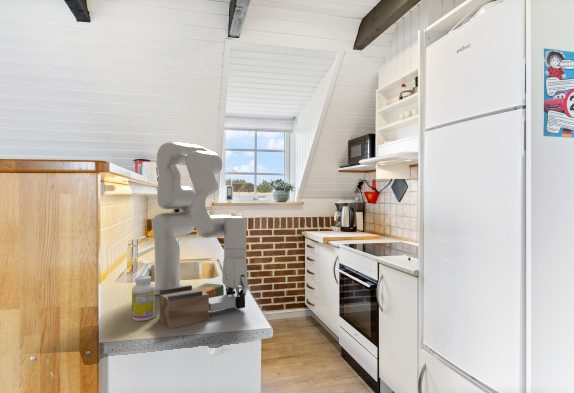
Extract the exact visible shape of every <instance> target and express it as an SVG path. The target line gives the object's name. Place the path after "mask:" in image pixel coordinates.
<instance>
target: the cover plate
mask: <svg viewBox="0 0 574 393" xmlns="http://www.w3.org/2000/svg"><path fill="white" fill-rule="evenodd" d="M236 297H237V294H236V292H235V294H229V295H226V294H223V295H221V296H218V297H212V298H209V312H210V313H212V312H217V311H222V310H226V309H231V308H236Z"/></svg>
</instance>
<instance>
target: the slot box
mask: <svg viewBox="0 0 574 393" xmlns="http://www.w3.org/2000/svg"><path fill="white" fill-rule="evenodd" d="M159 294H160V295H159V320H160V321H161V322H162V323H163V324H164V325H165V326H166V327H167V328H168V329H169V330H171V329H174V328H175V329H177V328H179V327H185V326H189V324H190V325H194V324H198V322H199V323H202V322H207V321H210V320H209V319H210V318H209V317H210V316H209V314H210V313H209V312H210V311H209V294H207V293H205V292H203V291H202V290H200V289H198V288H196V287H193V285H192V284H189V285H188V284H187V285H181V287H174V288H168V289H161V290H160V293H159ZM184 325H185V326H184Z"/></svg>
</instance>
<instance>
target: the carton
mask: <svg viewBox="0 0 574 393" xmlns="http://www.w3.org/2000/svg"><path fill="white" fill-rule="evenodd" d="M195 288H198V289H200V290H202V291H203V292H205V293H207V294H209V298H212V297H218V296H223V295H225V294H224V293H225V292H224V291H225V290H224V284H217V283H216V284H215V283H208V282H207V283H204V284H201V285H198V286H196V287H195Z"/></svg>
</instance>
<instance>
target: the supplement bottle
mask: <svg viewBox="0 0 574 393" xmlns="http://www.w3.org/2000/svg"><path fill="white" fill-rule="evenodd" d="M134 281H135V285H134V286H132V288H131V317H132V320H133V321H136V322H144V321H149V320H151V319H153V318H154V317H155V316H156V312H155V311H156V310H155V309H156V308H155V307H156V304H155V300H156V297H155V296H156V295H155V284H152V276H150V275H141V276H140V275H139V276H137V277H135V280H134Z"/></svg>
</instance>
